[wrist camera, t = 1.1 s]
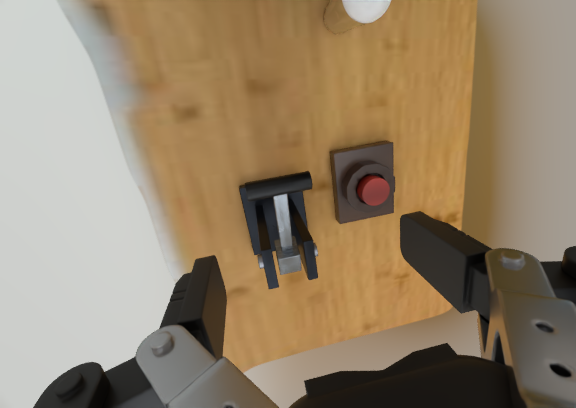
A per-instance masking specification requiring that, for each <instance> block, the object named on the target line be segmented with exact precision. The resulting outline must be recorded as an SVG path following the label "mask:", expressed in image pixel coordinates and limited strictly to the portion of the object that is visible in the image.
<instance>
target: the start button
mask: <svg viewBox="0 0 576 408" xmlns="http://www.w3.org/2000/svg"><path fill="white" fill-rule="evenodd" d="M389 192H390V187H389V184H388V183H387V181H386V180H384V179H382V178H381V177H379V176H377V175H368V176H366V177H364V178H363V179H362V180H361V181H360V182H359V184H358V187H357V194H358V196H359V197H360V198H361V199H362V200H363V201H364V202H365V203H367V204H368V205H371V206H376V205H379V204H381V203H383V202H384V201H385V200H386V199H387V197H388V195H389Z"/></svg>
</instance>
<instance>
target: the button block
mask: <svg viewBox="0 0 576 408" xmlns="http://www.w3.org/2000/svg"><path fill="white" fill-rule="evenodd" d="M330 159H331V170H332V180H333V191H334V201H335V212H336V220H337V221H338V222H339V223H340V224H343V223H347V222H352V221H357V220H362V219H366V218H371V217H376V216H381V215H385V214H390V213H394V192H395V177H394V175H393V142H389V141H383V142H378V143H373V144H367V145H362V146H356V147H351V148H346V149H340V150H335V151H330ZM368 175H377V176H379V177H381V178H382V179H384V180H386V181H387V183H388V184H389V187H390V192H389V195H388V197H387V199H386V200H385V201H384V202H383V203H381V204H379V205H376V206H371V205H368V204H367V203H365V202H364V201H363V200H362V199H361V198H360V197H359V196H358V194H357V187H358V184H359V182H360V181H361V180H362V179H363V178H364V177H366V176H368Z"/></svg>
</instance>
